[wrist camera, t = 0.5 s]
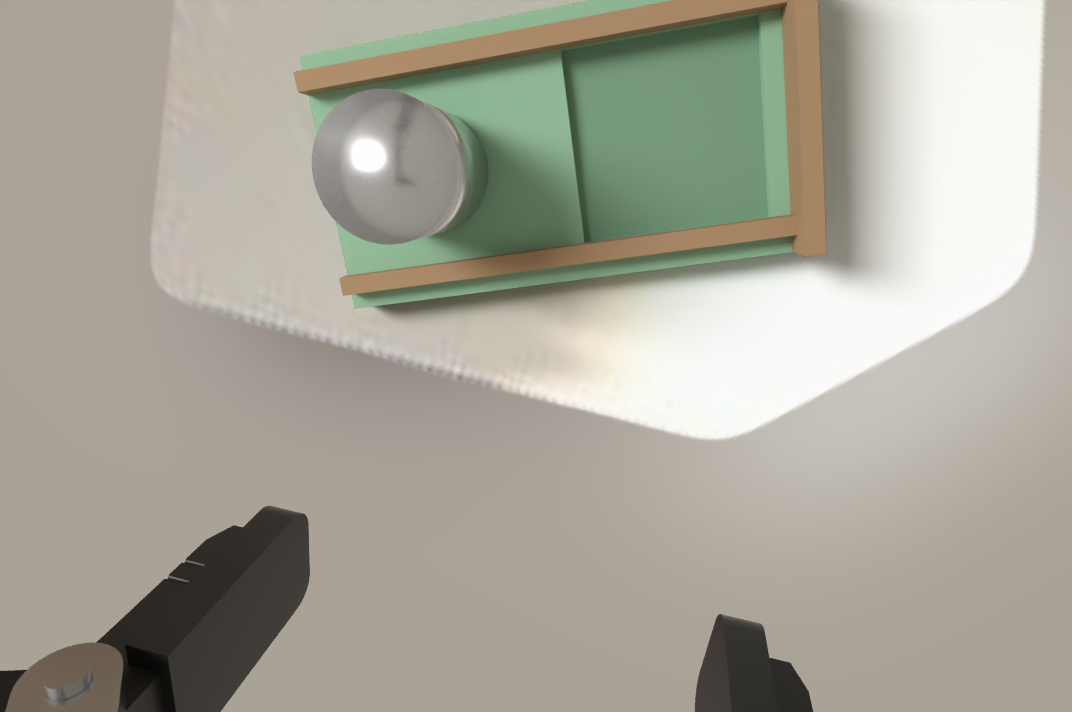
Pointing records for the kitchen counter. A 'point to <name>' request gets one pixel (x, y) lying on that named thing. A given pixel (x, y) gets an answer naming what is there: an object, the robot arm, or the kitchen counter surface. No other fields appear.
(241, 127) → the kitchen counter surface
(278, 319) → the kitchen counter surface
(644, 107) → the green railed board
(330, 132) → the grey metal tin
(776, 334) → the kitchen counter surface
